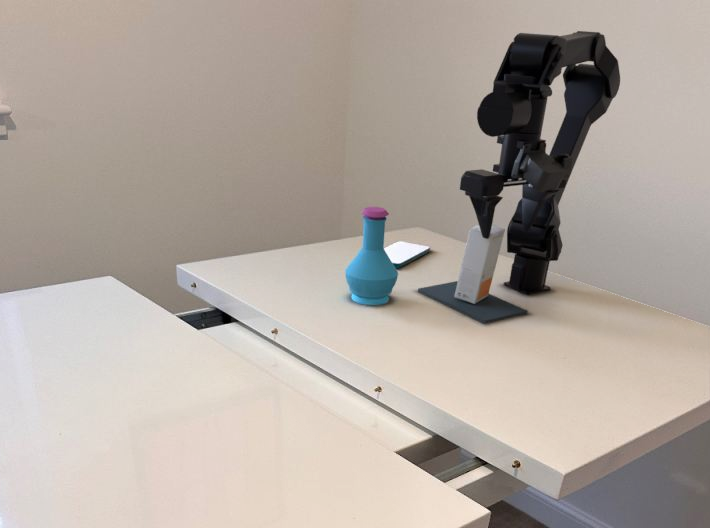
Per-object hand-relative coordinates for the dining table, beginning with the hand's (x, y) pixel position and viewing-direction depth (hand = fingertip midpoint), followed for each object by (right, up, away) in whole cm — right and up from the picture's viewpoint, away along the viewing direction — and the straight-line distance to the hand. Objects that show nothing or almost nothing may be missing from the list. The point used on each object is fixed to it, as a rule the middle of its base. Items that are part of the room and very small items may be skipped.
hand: (505, 235), depth 120 cm
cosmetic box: (-5, -8, +7) cm, 12 cm away
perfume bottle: (-23, -9, +7) cm, 25 cm away
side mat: (-5, -9, +8) cm, 13 cm away
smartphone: (-16, +6, +28) cm, 33 cm away
